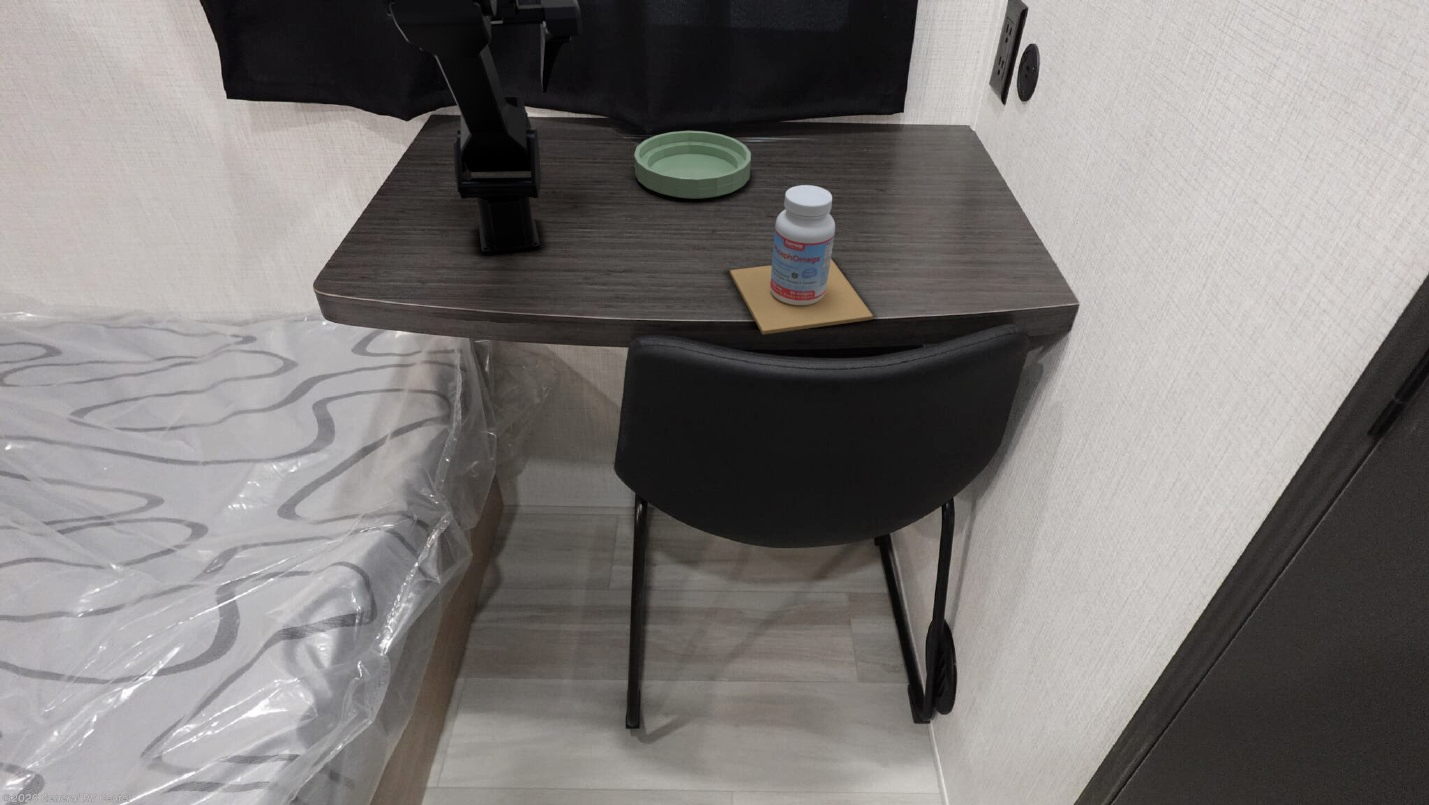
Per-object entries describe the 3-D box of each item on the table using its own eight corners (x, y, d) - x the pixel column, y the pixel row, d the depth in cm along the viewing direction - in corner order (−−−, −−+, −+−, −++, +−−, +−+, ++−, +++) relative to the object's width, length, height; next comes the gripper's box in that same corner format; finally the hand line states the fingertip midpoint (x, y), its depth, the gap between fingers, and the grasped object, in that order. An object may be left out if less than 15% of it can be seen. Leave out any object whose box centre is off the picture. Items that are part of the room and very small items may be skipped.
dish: (764, 196, 108) (765, 172, 106) (648, 207, 104) (647, 183, 102) (731, 148, 119) (732, 126, 117) (626, 157, 116) (625, 135, 114)
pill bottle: (761, 299, 88) (769, 201, 81) (779, 272, 92) (788, 176, 85) (817, 313, 86) (829, 214, 79) (832, 284, 91) (846, 188, 84)
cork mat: (872, 319, 87) (873, 315, 86) (762, 334, 84) (762, 330, 84) (830, 261, 95) (831, 257, 95) (729, 273, 93) (729, 269, 93)
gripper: (565, -79, 94) (576, 61, 104) (391, -74, 90) (421, 70, 101) (576, -48, 86) (587, 99, 97) (386, -41, 82) (420, 111, 93)
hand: (504, 93), depth 97 cm, fingers open, 9 cm apart
